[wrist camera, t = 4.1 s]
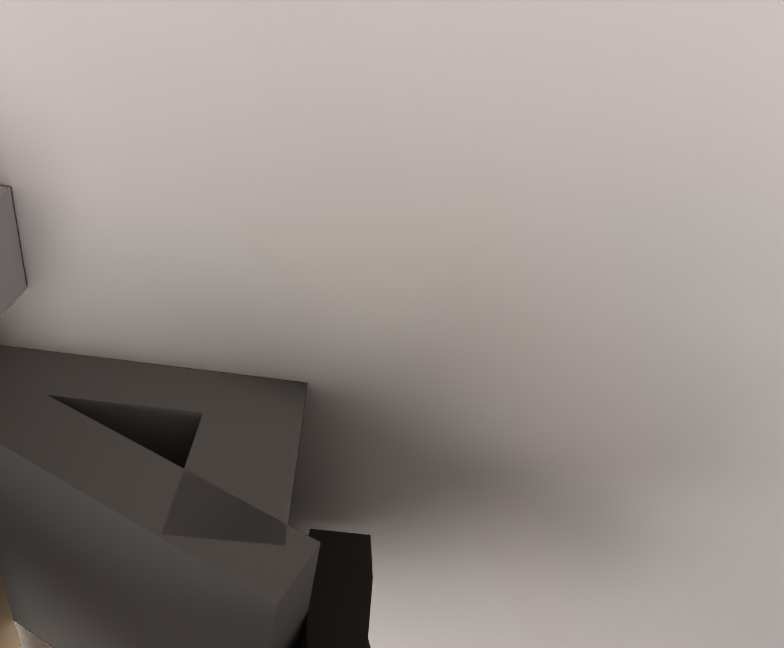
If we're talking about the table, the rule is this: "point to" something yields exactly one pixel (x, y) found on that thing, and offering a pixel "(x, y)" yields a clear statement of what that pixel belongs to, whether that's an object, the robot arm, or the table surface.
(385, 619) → the table surface
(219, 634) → the wedge
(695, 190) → the table surface
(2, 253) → the pair of grey posts
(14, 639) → the gate
